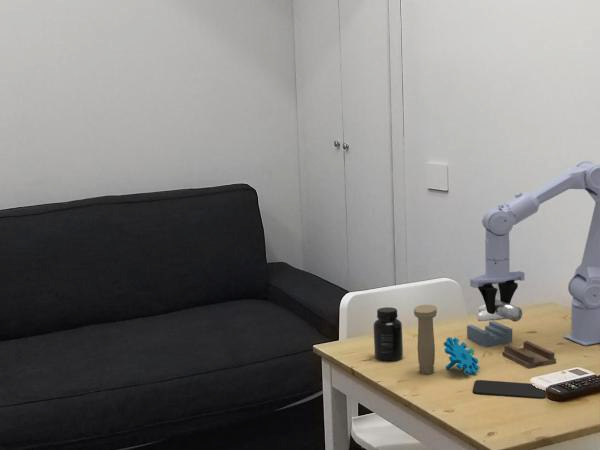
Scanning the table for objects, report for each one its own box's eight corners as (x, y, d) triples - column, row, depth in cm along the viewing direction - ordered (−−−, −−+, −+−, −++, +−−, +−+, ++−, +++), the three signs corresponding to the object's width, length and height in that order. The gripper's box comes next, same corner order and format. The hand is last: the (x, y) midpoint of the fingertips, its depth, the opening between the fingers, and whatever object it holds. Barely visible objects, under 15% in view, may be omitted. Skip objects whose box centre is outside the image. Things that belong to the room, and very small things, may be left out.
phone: (546, 397, 166) (471, 392, 171) (546, 401, 166) (471, 395, 171) (546, 384, 173) (475, 379, 178) (546, 388, 173) (475, 383, 178)
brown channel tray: (529, 350, 196) (529, 340, 195) (555, 362, 187) (555, 352, 186) (502, 355, 193) (502, 345, 193) (528, 368, 184) (528, 357, 184)
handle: (413, 376, 183) (411, 312, 180) (418, 366, 189) (417, 304, 186) (434, 377, 181) (433, 313, 179) (439, 367, 187) (438, 305, 185)
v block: (493, 333, 210) (493, 320, 209) (512, 342, 202) (512, 328, 202) (467, 338, 207) (467, 325, 206) (485, 347, 200) (484, 333, 199)
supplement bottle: (408, 356, 196) (407, 308, 194) (391, 364, 191) (390, 315, 189) (385, 351, 201) (384, 304, 199) (368, 358, 196) (367, 310, 194)
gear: (467, 375, 177) (440, 338, 181) (449, 390, 180) (423, 353, 184) (490, 367, 186) (464, 331, 190) (472, 381, 189) (447, 346, 193)
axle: (485, 312, 202) (485, 298, 201) (497, 310, 203) (497, 296, 202) (509, 322, 192) (510, 308, 192) (522, 320, 194) (522, 306, 193)
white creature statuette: (479, 311, 231) (478, 270, 229) (510, 312, 228) (510, 270, 226) (477, 321, 222) (476, 278, 220) (509, 322, 219) (509, 279, 217)
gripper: (512, 251, 204) (512, 303, 206) (462, 258, 199) (463, 312, 201) (529, 256, 197) (529, 310, 200) (479, 264, 192) (479, 319, 194)
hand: (497, 311), depth 200 cm, fingers closed on axle, 3 cm apart
